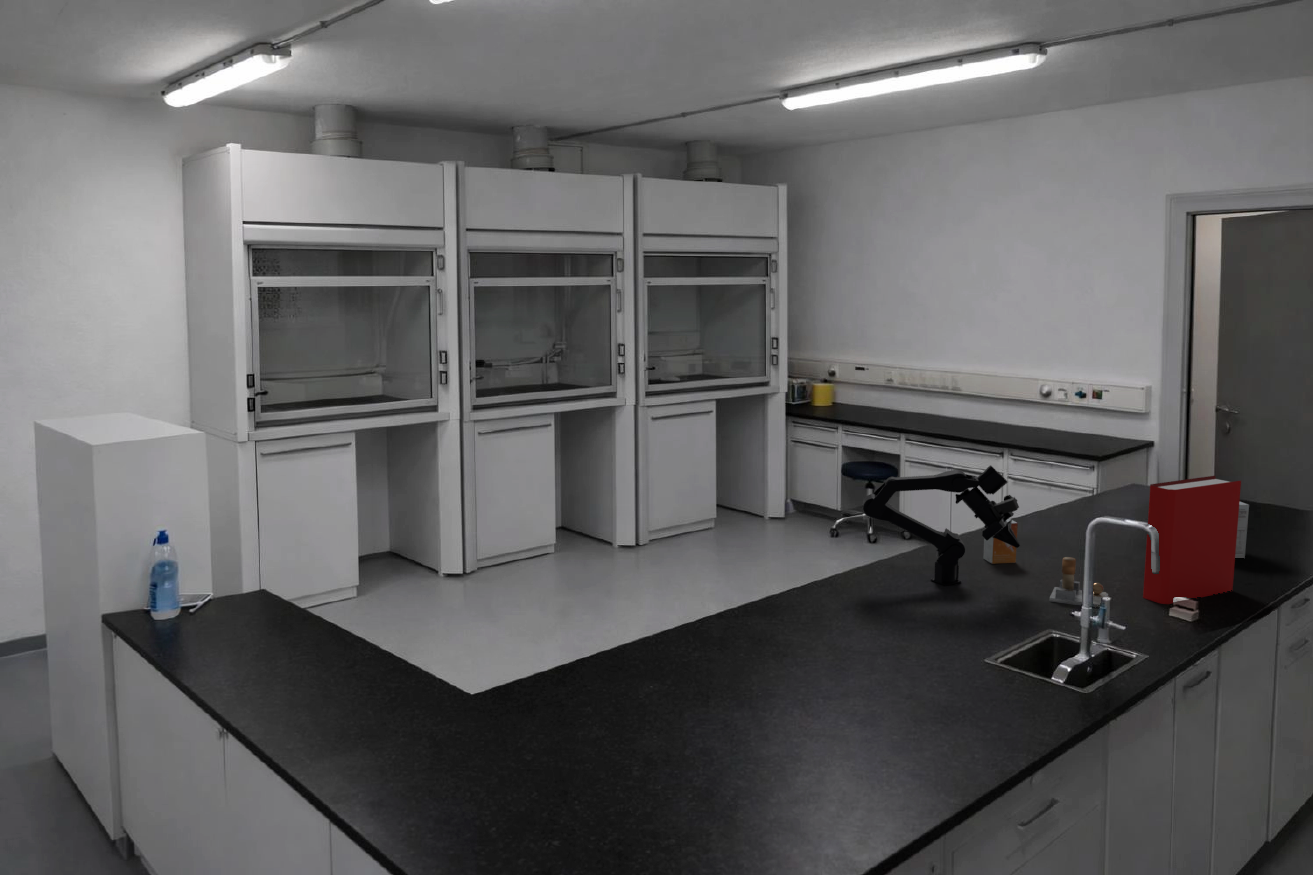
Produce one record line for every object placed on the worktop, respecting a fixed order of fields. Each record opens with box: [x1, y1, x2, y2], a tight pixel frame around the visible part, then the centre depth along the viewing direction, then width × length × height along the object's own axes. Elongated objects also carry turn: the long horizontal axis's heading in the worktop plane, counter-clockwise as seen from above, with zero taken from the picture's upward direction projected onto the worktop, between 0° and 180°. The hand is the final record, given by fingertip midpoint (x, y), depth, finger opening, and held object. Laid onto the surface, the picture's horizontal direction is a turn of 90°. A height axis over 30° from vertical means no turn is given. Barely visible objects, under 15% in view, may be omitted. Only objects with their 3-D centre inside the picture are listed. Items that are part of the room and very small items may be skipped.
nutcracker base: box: [1048, 579, 1109, 606], centre depth 279 cm, size 14×11×5 cm
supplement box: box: [1235, 501, 1250, 559], centre depth 322 cm, size 13×13×18 cm
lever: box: [1061, 556, 1077, 590], centre depth 280 cm, size 3×6×10 cm, turn 151°
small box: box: [983, 518, 1019, 565], centre depth 317 cm, size 8×6×13 cm
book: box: [1142, 475, 1242, 605], centre depth 281 cm, size 27×8×32 cm, turn 114°
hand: (1018, 546), depth 288 cm, fingers closed
